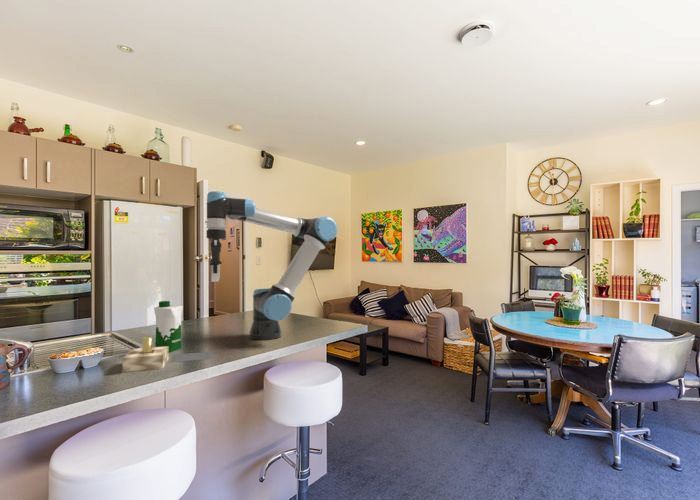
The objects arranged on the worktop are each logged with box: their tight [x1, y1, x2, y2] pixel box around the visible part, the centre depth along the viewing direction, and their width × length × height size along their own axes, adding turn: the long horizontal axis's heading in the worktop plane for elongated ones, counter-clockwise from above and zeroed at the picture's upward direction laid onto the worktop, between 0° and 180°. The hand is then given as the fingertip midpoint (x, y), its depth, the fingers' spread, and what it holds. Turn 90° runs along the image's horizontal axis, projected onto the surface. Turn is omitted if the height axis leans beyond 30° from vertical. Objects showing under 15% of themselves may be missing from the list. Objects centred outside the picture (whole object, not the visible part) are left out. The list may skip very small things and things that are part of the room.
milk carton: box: [153, 300, 184, 353], centre depth 145 cm, size 9×9×20 cm
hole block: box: [121, 346, 170, 373], centre depth 125 cm, size 12×12×5 cm
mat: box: [169, 351, 213, 363], centre depth 135 cm, size 14×10×1 cm
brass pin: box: [141, 336, 153, 354], centre depth 125 cm, size 3×3×10 cm
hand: (215, 280), depth 147 cm, fingers open, 13 cm apart
